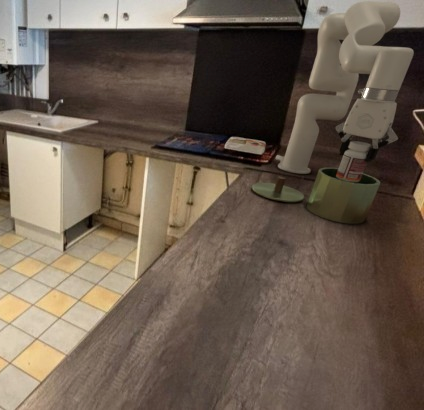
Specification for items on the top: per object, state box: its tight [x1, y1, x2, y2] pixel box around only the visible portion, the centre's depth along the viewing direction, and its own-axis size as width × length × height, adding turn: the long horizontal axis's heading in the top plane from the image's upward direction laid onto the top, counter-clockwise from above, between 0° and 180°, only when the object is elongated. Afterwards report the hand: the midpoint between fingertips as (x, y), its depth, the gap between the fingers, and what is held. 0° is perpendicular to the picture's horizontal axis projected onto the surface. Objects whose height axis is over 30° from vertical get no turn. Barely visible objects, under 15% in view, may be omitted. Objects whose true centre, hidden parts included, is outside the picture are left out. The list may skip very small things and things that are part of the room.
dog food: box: [224, 136, 267, 156], centre depth 181 cm, size 30×18×5 cm, turn 153°
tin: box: [306, 167, 381, 225], centre depth 111 cm, size 16×16×12 cm
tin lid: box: [251, 175, 305, 203], centre depth 125 cm, size 17×17×6 cm
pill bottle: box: [336, 140, 372, 182], centre depth 107 cm, size 6×6×11 cm
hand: (355, 157), depth 106 cm, fingers closed on pill bottle, 6 cm apart
